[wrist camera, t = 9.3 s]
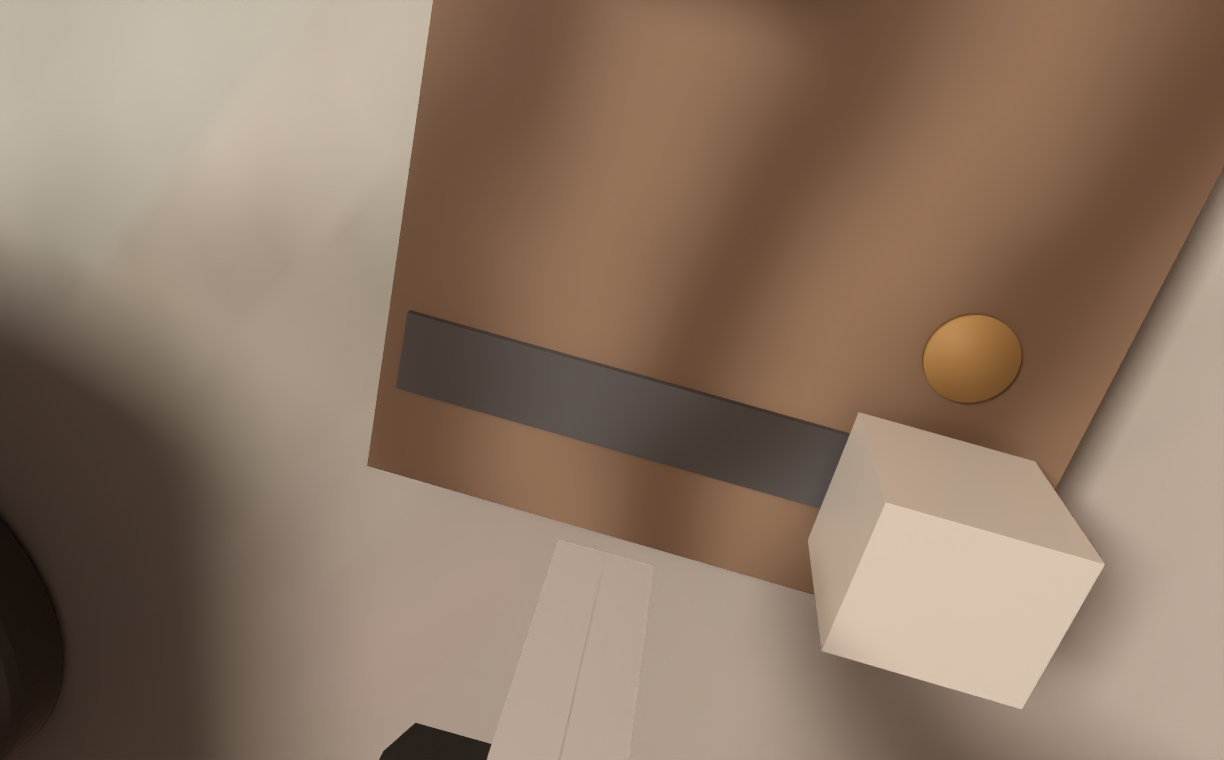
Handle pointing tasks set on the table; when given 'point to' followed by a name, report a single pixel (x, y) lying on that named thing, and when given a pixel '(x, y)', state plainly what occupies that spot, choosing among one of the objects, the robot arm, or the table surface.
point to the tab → (946, 562)
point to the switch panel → (777, 245)
